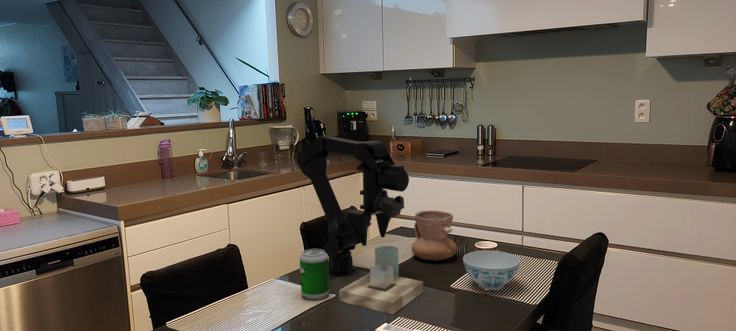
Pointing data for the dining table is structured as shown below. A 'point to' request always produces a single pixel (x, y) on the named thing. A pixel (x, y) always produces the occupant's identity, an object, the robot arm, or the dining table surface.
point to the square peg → (381, 277)
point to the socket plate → (381, 294)
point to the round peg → (387, 257)
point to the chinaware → (491, 268)
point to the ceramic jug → (433, 236)
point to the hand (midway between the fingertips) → (373, 241)
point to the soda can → (314, 274)
